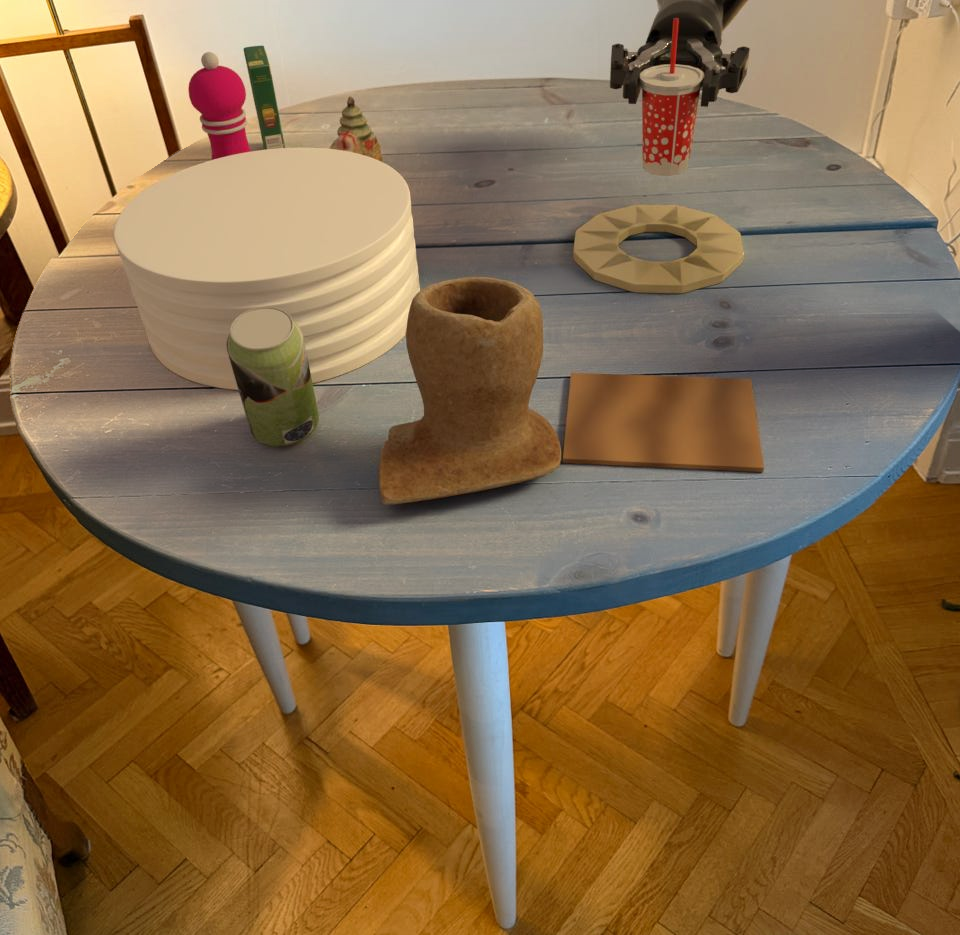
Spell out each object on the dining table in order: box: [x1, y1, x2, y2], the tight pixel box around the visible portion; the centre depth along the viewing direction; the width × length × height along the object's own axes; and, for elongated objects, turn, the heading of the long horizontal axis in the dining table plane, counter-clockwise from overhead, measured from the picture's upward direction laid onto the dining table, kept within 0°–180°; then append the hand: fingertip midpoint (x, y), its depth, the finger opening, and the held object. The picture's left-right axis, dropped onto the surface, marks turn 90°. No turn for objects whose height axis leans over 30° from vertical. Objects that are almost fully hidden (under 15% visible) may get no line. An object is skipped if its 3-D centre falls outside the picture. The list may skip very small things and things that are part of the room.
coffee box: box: [243, 45, 286, 150], centre depth 123 cm, size 8×3×13 cm, turn 15°
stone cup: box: [378, 276, 562, 506], centre depth 72 cm, size 15×12×15 cm
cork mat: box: [562, 372, 765, 473], centre depth 79 cm, size 16×12×1 cm
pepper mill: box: [187, 51, 253, 160], centre depth 104 cm, size 7×7×20 cm
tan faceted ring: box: [572, 204, 745, 294], centre depth 101 cm, size 18×18×1 cm
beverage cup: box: [640, 18, 704, 177], centre depth 89 cm, size 6×6×14 cm
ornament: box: [329, 95, 384, 163], centre depth 117 cm, size 8×6×10 cm
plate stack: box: [113, 147, 421, 391], centre depth 93 cm, size 28×28×12 cm
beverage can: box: [226, 307, 320, 447], centre depth 77 cm, size 6×7×12 cm
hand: (668, 94), depth 87 cm, fingers closed on beverage cup, 6 cm apart
